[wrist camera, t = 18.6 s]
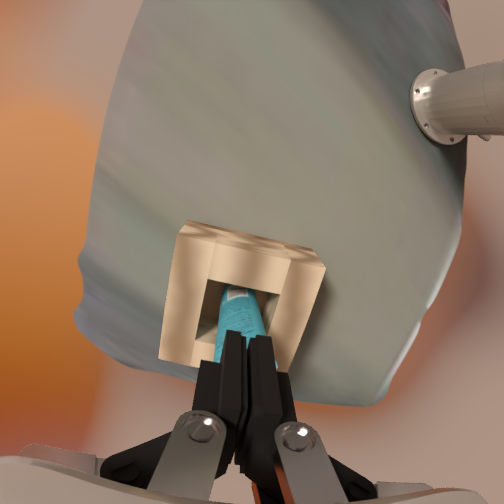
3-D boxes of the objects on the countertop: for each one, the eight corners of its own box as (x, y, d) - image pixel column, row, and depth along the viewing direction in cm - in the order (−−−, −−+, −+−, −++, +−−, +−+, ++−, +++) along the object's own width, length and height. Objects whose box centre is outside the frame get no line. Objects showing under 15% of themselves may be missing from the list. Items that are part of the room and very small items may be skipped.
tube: (229, 320, 46) (226, 414, 28) (208, 297, 45) (192, 386, 26) (270, 292, 45) (289, 379, 26) (249, 267, 44) (257, 347, 25)
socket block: (311, 249, 45) (326, 268, 37) (277, 351, 50) (283, 382, 42) (187, 220, 43) (177, 234, 35) (168, 329, 48) (158, 358, 40)
